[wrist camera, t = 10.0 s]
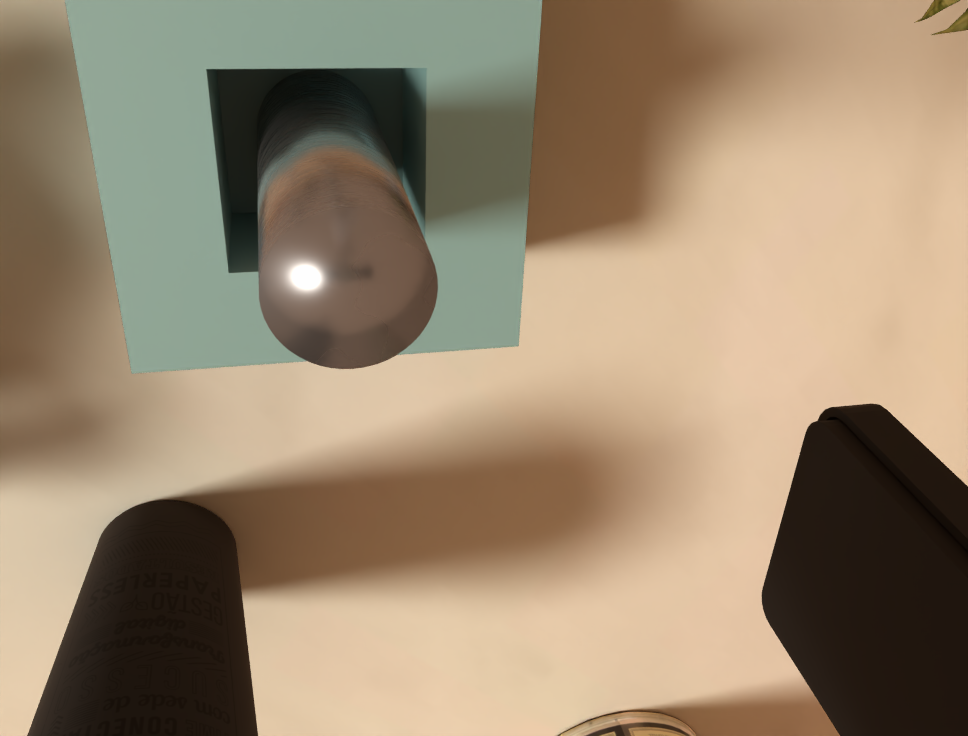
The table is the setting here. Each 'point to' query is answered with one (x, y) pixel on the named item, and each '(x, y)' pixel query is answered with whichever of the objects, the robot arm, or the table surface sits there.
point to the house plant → (962, 23)
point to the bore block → (233, 155)
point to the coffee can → (632, 726)
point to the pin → (336, 228)
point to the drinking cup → (155, 634)
